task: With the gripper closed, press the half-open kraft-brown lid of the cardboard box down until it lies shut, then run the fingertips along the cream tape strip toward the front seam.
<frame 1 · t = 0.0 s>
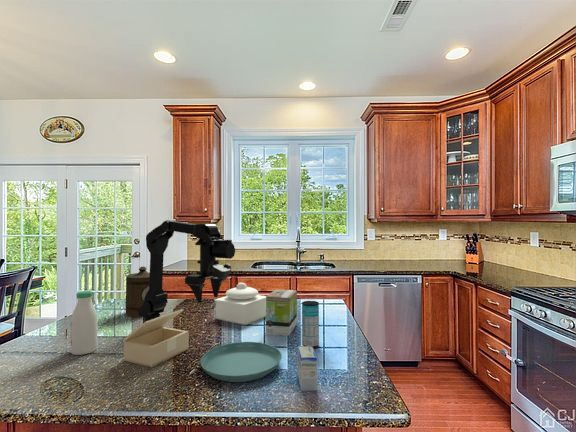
hand: (207, 299, 124), 15 cm above the countertop, tool pointing down, fingers open, 9 cm apart
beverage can: (310, 346, 118), on the countertop
butter dish: (242, 317, 153), on the countertop
lid: (154, 324, 111), point 10 cm above the countertop, hinge at 35.0°
cardboard box: (157, 354, 110), on the countertop
tea box: (281, 329, 136), on the countertop
wooden container: (142, 312, 161), on the countertop
milk bottle: (84, 351, 114), on the countertop
medicine box: (307, 384, 90), on the countertop
saucer: (241, 367, 101), on the countertop
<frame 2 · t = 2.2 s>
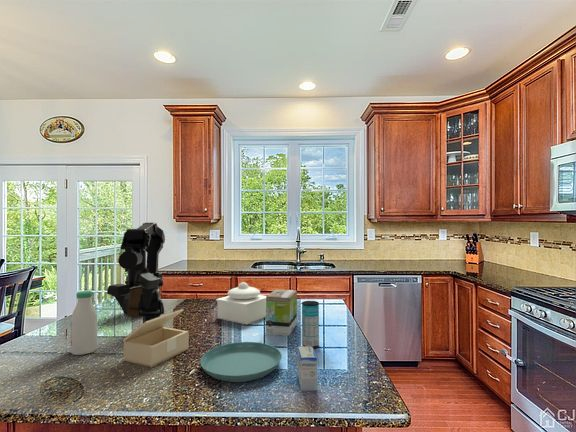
hand: (136, 311, 115), 13 cm above the countertop, tool pointing down, fingers open, 8 cm apart
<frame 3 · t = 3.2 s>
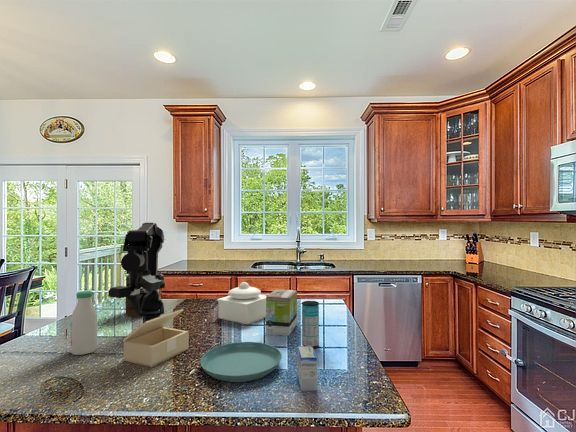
hand: (138, 313, 114), 13 cm above the countertop, tool pointing down, fingers closed
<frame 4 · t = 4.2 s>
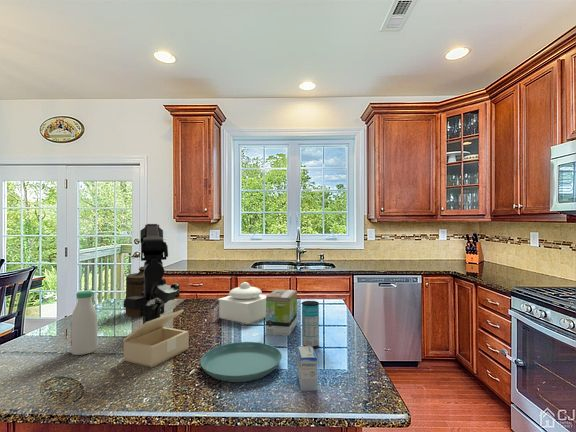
hand: (153, 323, 111), 10 cm above the countertop, tool pointing down, fingers closed, pressing on lid
lid: (154, 324, 111), point 10 cm above the countertop, hinge at 34.0°, touching gripper
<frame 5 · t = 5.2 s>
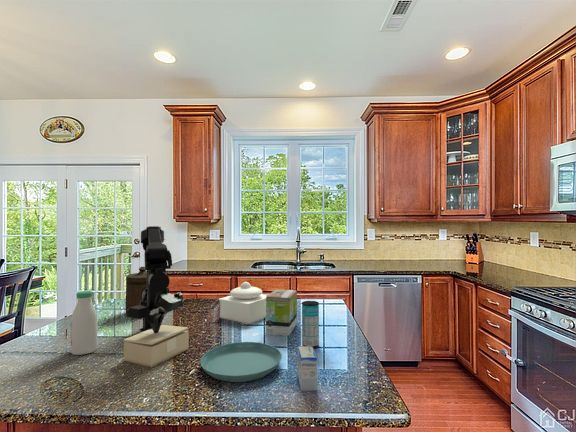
hand: (156, 332, 111), 7 cm above the countertop, tool pointing down, fingers closed, pressing on lid
lid: (157, 333, 110), point 7 cm above the countertop, hinge at 3.2°, touching gripper
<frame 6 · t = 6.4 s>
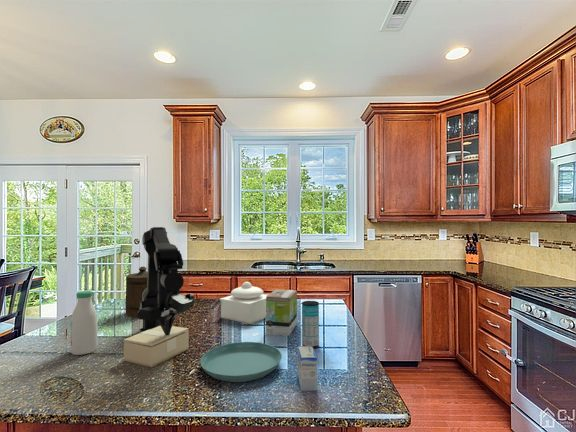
hand: (167, 334, 108), 7 cm above the countertop, tool pointing down, fingers closed, pressing on lid
lid: (157, 334, 110), point 7 cm above the countertop, hinge at 1.7°, touching gripper
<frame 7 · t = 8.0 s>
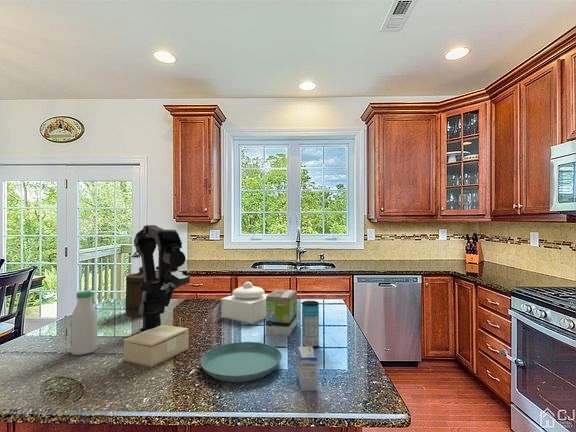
hand: (166, 306, 123), 13 cm above the countertop, tool pointing down, fingers closed
lid: (157, 334, 110), point 7 cm above the countertop, hinge at 1.7°
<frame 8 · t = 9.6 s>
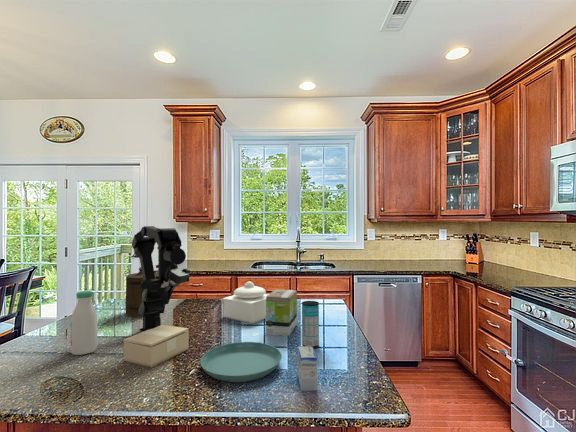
hand: (166, 304, 125), 13 cm above the countertop, tool pointing down, fingers closed
at the end: lid at +2° (first picture: +35°); tea box moved 0.3 cm from its start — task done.
